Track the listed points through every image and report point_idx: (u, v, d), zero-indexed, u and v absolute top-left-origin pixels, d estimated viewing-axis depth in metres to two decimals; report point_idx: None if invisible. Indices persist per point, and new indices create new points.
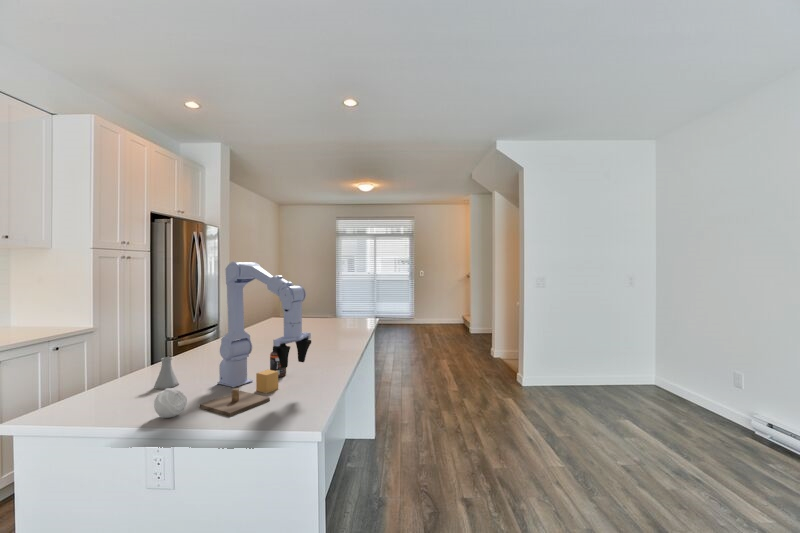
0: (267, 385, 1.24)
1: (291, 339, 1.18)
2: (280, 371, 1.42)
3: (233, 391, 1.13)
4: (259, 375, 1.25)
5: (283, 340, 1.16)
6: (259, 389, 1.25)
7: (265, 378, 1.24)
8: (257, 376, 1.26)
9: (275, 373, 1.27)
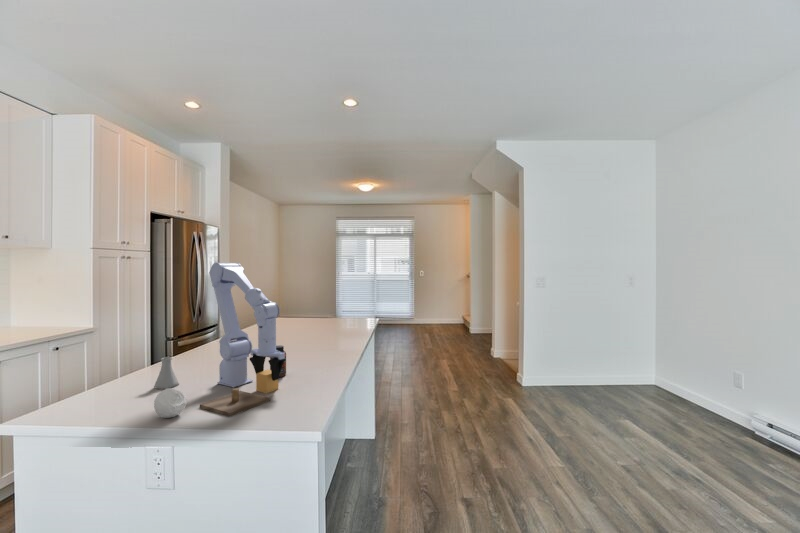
0: (267, 385, 1.24)
1: (256, 353, 1.26)
2: (280, 371, 1.42)
3: (233, 391, 1.13)
4: (259, 375, 1.25)
5: (253, 351, 1.28)
6: (259, 389, 1.25)
7: (265, 378, 1.24)
8: (257, 376, 1.26)
9: None
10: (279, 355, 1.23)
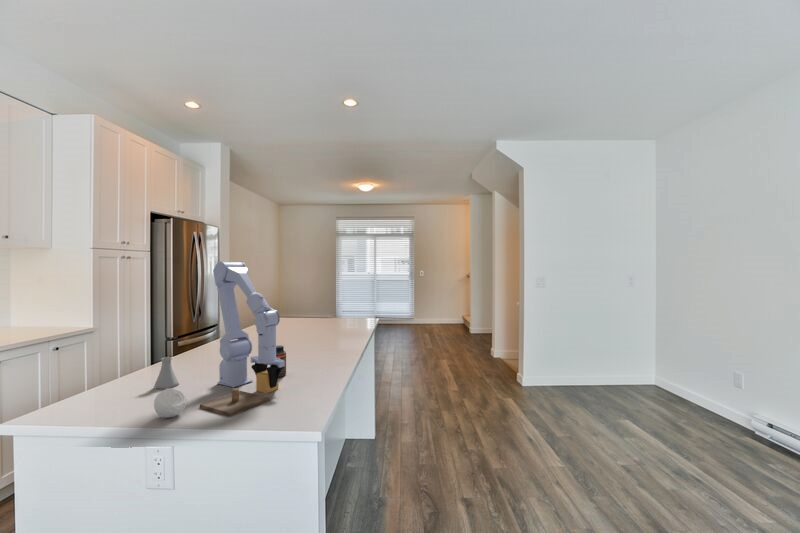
0: (267, 385, 1.24)
1: (256, 360, 1.26)
2: None
3: (233, 391, 1.13)
4: (259, 375, 1.25)
5: (253, 359, 1.28)
6: (259, 389, 1.25)
7: (265, 378, 1.24)
8: (257, 376, 1.26)
9: None
10: (279, 363, 1.23)
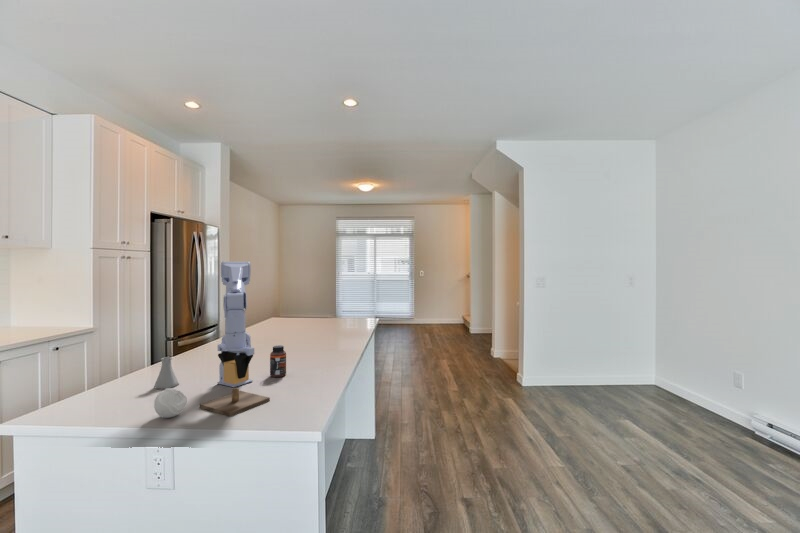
0: (235, 375, 1.11)
1: (223, 348, 1.13)
2: (280, 371, 1.42)
3: (233, 391, 1.13)
4: (226, 364, 1.12)
5: (220, 346, 1.15)
6: (226, 380, 1.12)
7: (233, 367, 1.11)
8: (224, 365, 1.13)
9: None
10: (247, 350, 1.10)
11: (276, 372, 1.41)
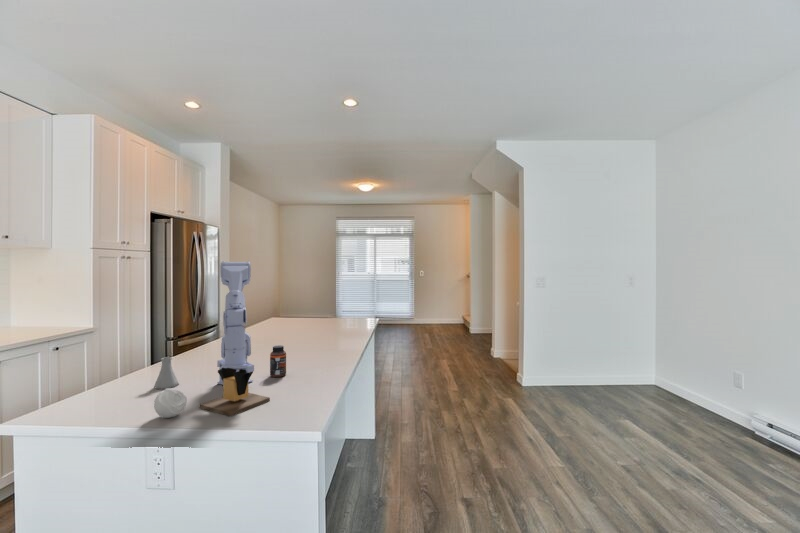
0: (235, 392, 1.11)
1: (223, 364, 1.13)
2: (280, 371, 1.42)
3: None
4: (226, 381, 1.12)
5: (220, 362, 1.15)
6: (226, 397, 1.12)
7: (232, 384, 1.11)
8: (224, 382, 1.13)
9: None
10: (247, 367, 1.10)
11: (276, 372, 1.41)
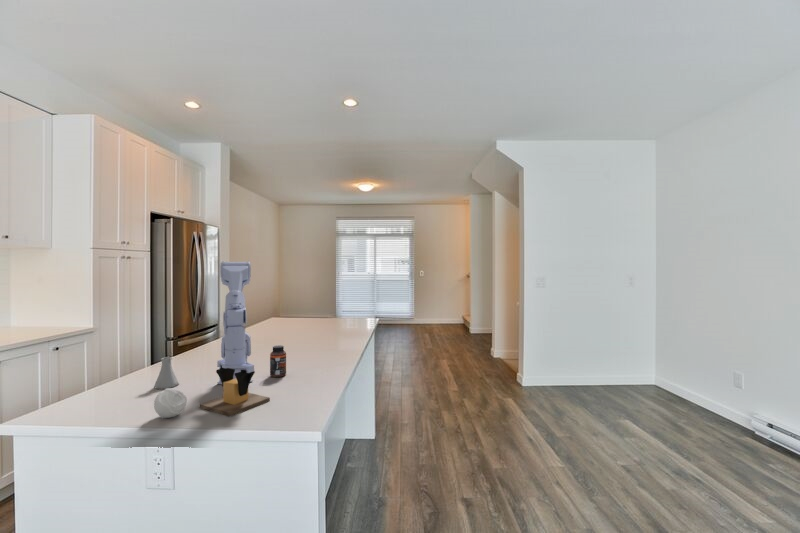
0: (235, 396, 1.11)
1: (223, 364, 1.13)
2: (280, 371, 1.42)
3: None
4: (226, 384, 1.12)
5: (220, 363, 1.15)
6: (226, 400, 1.12)
7: (232, 388, 1.11)
8: (224, 385, 1.13)
9: None
10: (247, 368, 1.10)
11: (276, 372, 1.41)
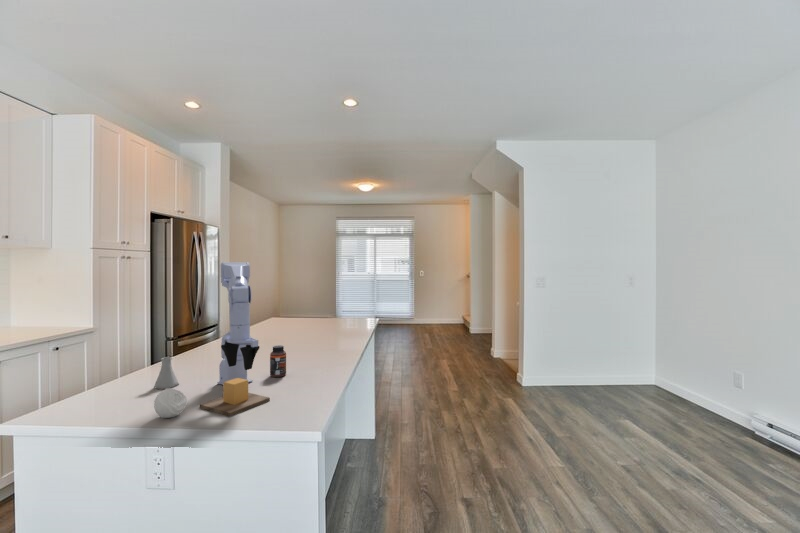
0: (235, 396, 1.11)
1: (228, 340, 1.17)
2: (280, 371, 1.42)
3: None
4: (226, 384, 1.12)
5: (225, 338, 1.19)
6: (226, 400, 1.12)
7: (232, 388, 1.11)
8: (224, 385, 1.13)
9: (244, 382, 1.14)
10: (252, 342, 1.13)
11: (276, 372, 1.41)
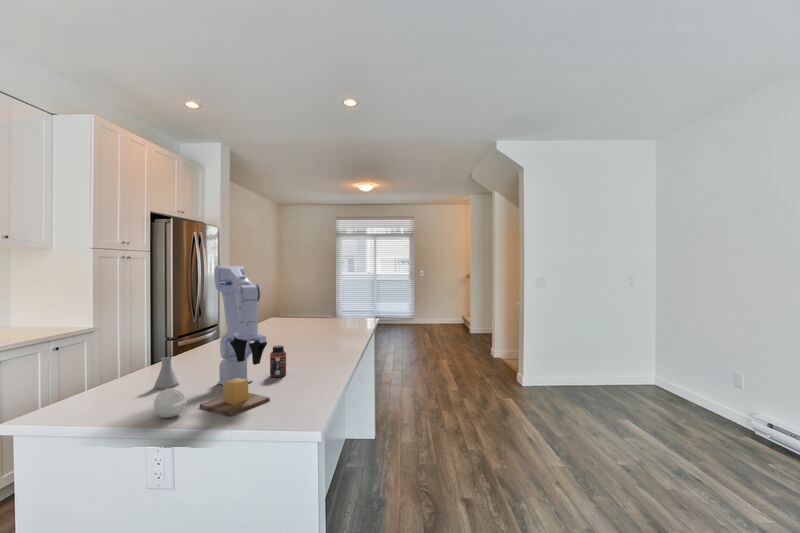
0: (235, 396, 1.11)
1: (237, 336, 1.22)
2: (280, 371, 1.42)
3: None
4: (226, 384, 1.12)
5: (234, 335, 1.24)
6: (226, 400, 1.12)
7: (232, 388, 1.11)
8: (224, 385, 1.13)
9: (244, 382, 1.14)
10: (260, 338, 1.18)
11: (276, 372, 1.41)
